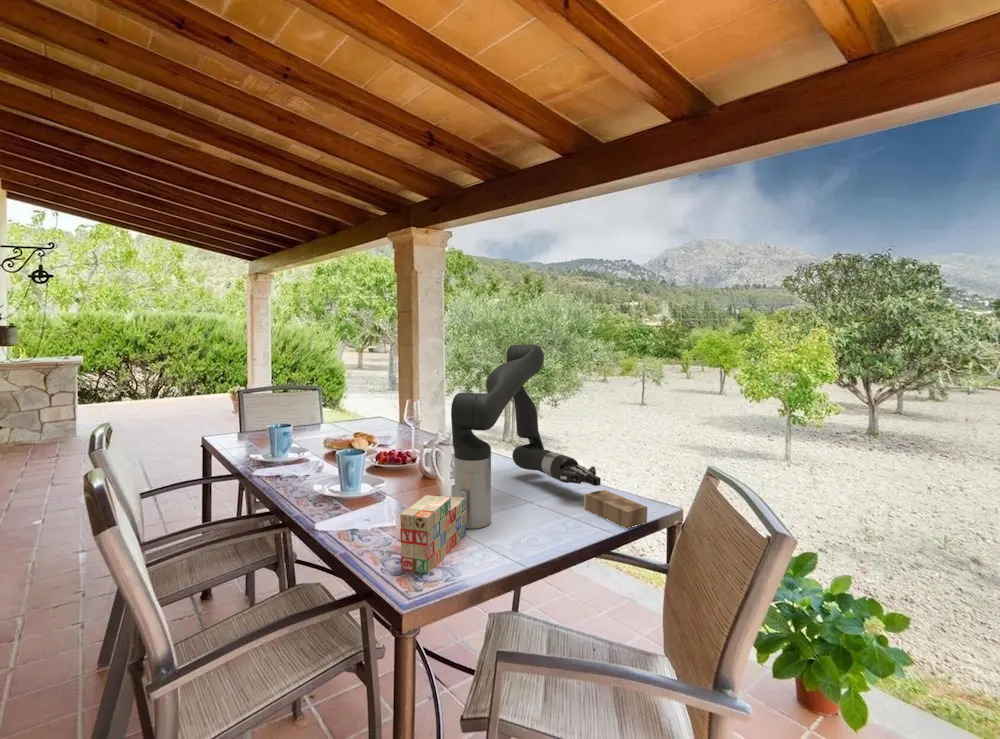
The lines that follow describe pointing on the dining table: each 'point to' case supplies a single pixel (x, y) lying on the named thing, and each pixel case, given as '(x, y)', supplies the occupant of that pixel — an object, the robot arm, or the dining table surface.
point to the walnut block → (615, 508)
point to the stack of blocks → (431, 531)
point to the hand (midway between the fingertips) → (598, 482)
